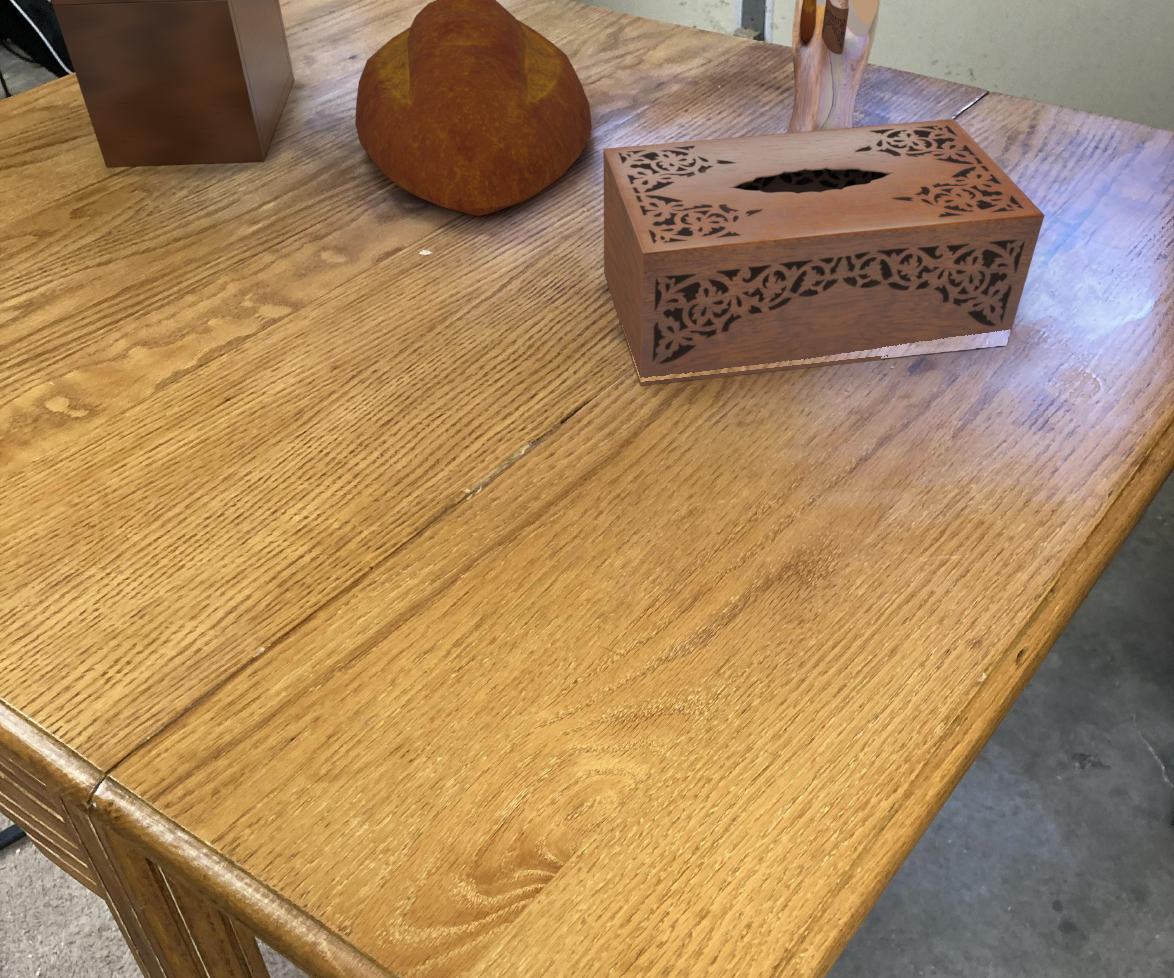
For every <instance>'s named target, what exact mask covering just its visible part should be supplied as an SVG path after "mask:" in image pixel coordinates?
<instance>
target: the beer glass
mask: <svg viewBox="0 0 1174 978" xmlns="http://www.w3.org/2000/svg"><path fill="white" fill-rule="evenodd" d="M880 7H881V0H795V2H794V10H793V17H792V19H793V20H792V32H791V39H792V40H791V42H792V43H791V44H792V45H791V47H792V49H791V51H792V65H793V79H794V80H793V81H794V96H793V97H794V99H793V105H792V106H793V107H792V112H791V115H790V118H789V122H788V125H787V128H786V129H787V130H786V132H785V133H794V132H806V131H817V130H829V129H841V128H853V127H855V126H854V125H855V124H854V122H855V121H854V115H855V105H856V102H857V101H856V100H857V95H858V92H859V89H860V87H861V83H862V79H863V76H864V74H865V71H866V69H867V65H868V62H869V58H870V56H871V53H872V49H873V45H874V42H875V39H876V32H877V28H878V22H879V15H880Z"/></svg>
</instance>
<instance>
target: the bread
mask: <svg viewBox="0 0 1174 978" xmlns="http://www.w3.org/2000/svg"><path fill="white" fill-rule="evenodd" d="M356 93H357V95H356V102H355V120H354V121H355V122H354V123H355V124H354V125H355V129H356V133H357V137H358V140H359V143H360V145H361V146H362V149H364V151H365V152H366V154H367V156H368V157H369V159H370V160H371V162H373V164H375V165H376V166H377V168H378V169H379V170H380V171H381V172H382V173H383V174H384V176H386V177H387V178H388V179H390V181H392V182H393V183H394V184H395V185H396V186H398V187H399V188H401V189H403V190H404V191H407V192H408V193H410V194H412V195H414V196H416V197H417V198H420V199H422V200H425V201H427V202H429V203H432V204H434V205H437V206H440V207H442V208H444V209H445V208H446V209H449V210H453V211H457V212H460V213H464V214H469V215H472V216H475V217H480V216H485V215H490V214H493V213H495V212H498V211H501V210H504V209H507V208H510V207H512V206H515V205H518V204H521V203H523V202H525V201H527V200H528V199H530V198H532V197H534V196H535V195H537V194H538V193H540V192H542V190H543V191H544V189H546V188H547V187H548V186H550V185H552V184H553V183H554V182H556V181H557V180H558V179H560V178H562V176H563V175H564V174H565V173H566V172H567V171H568V169H570V167H571V166H572V165H573V164H574V163H575V162H576V160H577V159H578V158H579V157H580V156H581V153H583V150H584V148H585V146H587V145H586V144H587V143H588V141H589V140H590V136H591V132H592V114H591V108H590V107H591V106H590V102H589V100H588V97H587V95H586V92H585V89H584V87H583V84H582V82H581V80H580V78H579V76H578V74H577V72H576V70H575V68H574V66H573V64H572V62H571V60H570V59H569V57H568V55H567V54H566V53H565V52H564V51H563V50H562V49H560V48H559V47H558V46H557V45H556V44H555V43H553V42H552V41H550V39H548V38H546V37H545V36H544V35H542V34H541V33H539V31H537V30H535V29H533V28H532V27H530V26H528V25H527V24H526V23H524V22H523V21H520V20H519V19H517V18H516V16H514V15H513V13H511V12H510V11H508V10H507V9H506V8H505V7H504V6H503V5H502V4H501V3H500V2H499V1H497V0H433V1H430V2H428V3H427V4H426V5H425V6H424V7H423V8H421V10H420V11H419V12H418V13H417V14H416V15H415V17H414V19H413V21H412V23H411V24H410V26H409V27H408V28H406V29H404V30H403V31H401V32H399V33H398V34H396V35H395V36H393V37H392V38H391V39H389V40H388V41H387V42H386V43H385V44H383V45H381V47H380V48H378V50H376V51H375V53H373V54H372V55H371V56H369V58H368V59H366V62H365V64H364V67H363V70H362V72H361V75H360V77H359V80H358V85H357V92H356Z"/></svg>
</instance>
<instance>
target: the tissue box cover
mask: <svg viewBox="0 0 1174 978" xmlns="http://www.w3.org/2000/svg"><path fill="white" fill-rule="evenodd" d="M602 152H603V153H602V154H603V155H602V156H603V160H602V161H603V274H604V277H605V280H606V283H607V286H608V289H609V292H610V296H611V299H612V302H613V305H614V308H615V310H616V314H617V317H618V321H619V323H620V327H621V330H622V333H623V337H624V339H625V342H626V345H627V348H628V352H629V354H630V355H629V356H630V358H631V361H632V364H633V367H634V370H635V374H636V377H637V380H638V383H639V386H650V385H660V384H668V383H679V382H686V381H687V382H688V381H697V380H705V379H713V378H714V379H715V378H723V377H724V378H725V377H733V376H743V375H751V374H752V375H753V374H760V373H761V374H762V373H769V372H770V373H771V372H779V371H788V370H797V369H807V368H816V367H824V366H825V367H826V366H835V365H843V364H844V365H845V364H853V363H861V362H862V363H863V362H872V361H873V362H874V361H881V360H880V359H881V357H882V356H875V357H866V358H857V359H847V360H838V361H829V362H820V363H811V364H801V365H792V366H783V367H774V368H765V369H756V370H746V371H737V372H728V373H719V374H710V375H700V376H691V377H682V378H673V379H664V380H655V381H645V382H640V379H639V376H638V373H637V370H636V367H635V364H634V361H633V358H632V355H633V357H634V360H635V363H636V366H637V369H638V372H639V375H640V378H642V377H644V378H648V377H652V376H656V377H657V376H666V375H670V374H682V373H684V374H687V373H690V372H692V373H695V372H702V371H710V370H717V369H724V368H731V367H742V366H749V365H759V364H766V363H768V364H770V363H776V362H782V361H785V362H786V361H788V360H789V361H792V360H801V359H804V360H805V359H807V358H808V359H811V358H816V357H823V356H827V355H828V356H830V355H836V354H841V353H850V352H855V351H864V350H870V349H871V350H872V349H877V348H882V347H886V346H887V347H889V346H894V345H895V346H897V345H899V344H900V345H902V344H907V343H915V342H919V341H921V342H922V341H932V340H934V339H935V340H937V339H941V338H942V339H944V338H948V337H956V336H965V335H967V336H968V335H972V334H973V335H975V334H982V333H989V332H995V331H996V332H997V331H1002V330H1004V331H1005V330H1009V329H1010V330H1011V329H1012V330H1013V327H1014V323H1015V319H1016V316H1017V313H1018V309H1019V305H1020V302H1021V298H1022V295H1023V291H1024V288H1025V285H1026V281H1027V278H1028V275H1029V272H1030V268H1031V263H1032V261H1033V257H1034V254H1035V251H1036V246H1037V243H1038V239H1039V236H1040V232H1041V229H1042V226H1043V222H1044V219H1045V213H1043V211H1042V210H1041V209H1039V207H1038V206H1037V205H1036V204H1035V202H1033V201H1032V200H1031V199H1030V197H1028V195H1026V194H1025V193H1024V192H1023V191H1022V189H1021V188H1020V187H1019V186H1018V185H1017V183H1015V182H1014V181H1013V180H1012V179H1011V178H1010V176H1009V175H1008V174H1007V173H1006V172H1005V171H1004V170H1003V169H1002V168H1001V167H1000V166H999V165H998V164H997V163H996V162H995V161H994V159H992V157H991V156H990V155H989V154H988V153H987V152H986V151H985V150H984V149H983V148H982V147H981V146H980V145H979V144H978V142H977V141H976V140H974V138H972V136H971V135H970V134H969V133H968V132H967V131H966V130H965V129H964V128H963V127H962V126H961V125H960V124H959V123H958V121H957V120H956V119H955V118H948V119H935V120H924V121H913V122H911V121H910V122H901V123H890V124H879V125H868V126H867V125H866V126H854V127H853V128H841V129H829V130H817V131H806V132H794V133H786V132H783V133H772V134H760V135H751V136H750V135H748V136H739V137H738V136H736V137H724V138H714V139H713V138H711V139H703V140H690V141H678V142H668V143H667V142H666V143H653V144H642V145H631V146H619V147H609V148H608V147H607V148H603V151H602ZM622 325H623V327H622ZM623 328H624V330H623ZM1012 330H1011V331H1012ZM624 331H625V333H624ZM625 334H626V336H625ZM626 337H627V339H626ZM627 340H628V342H627ZM628 343H629V345H628ZM629 346H630V348H629ZM630 349H631V351H630ZM631 352H632V354H631ZM886 356H887V357H888V355H886ZM884 357H885V356H884Z"/></svg>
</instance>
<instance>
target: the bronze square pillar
mask: <svg viewBox="0 0 1174 978" xmlns="http://www.w3.org/2000/svg"><path fill="white" fill-rule="evenodd" d="M51 2H52V5H53V10H54V13H55V16H56V19H57V22H58V24H59V28H60V31H61V33H62V37H63V40H64V43H65V46H66V50H67V52H68V55H69V58H70V62H71V64H72V68H73V70H74V74H75V77H76V79H77V82H78V83H77V84H78V85H79V89H80V92H81V95H82V97H83V101H84V104H85V107H86V111H87V113H88V116H89V120H90V122H91V125H92V129H93V132H94V134H95V137H96V141H97V143H98V147H99V149H100V152H101V156H102V159H103V163H104V165H105V167H106V168H116V167H118V168H119V167H144V166H145V167H146V166H147V167H148V166H149V167H150V166H172V165H175V166H176V165H201V164H203V165H205V164H231V163H234V164H235V163H262V162H264V161H265V159H266V156H267V153H268V150H269V148H270V145H271V143H272V140H273V137H274V135H275V133H276V130H277V126H278V124H279V122H280V118H281V115H282V114H283V111H284V108H285V106H286V103H287V101H288V97H289V96H290V92H291V90H292V87H293V84H294V82H295V75H294V69H293V64H292V60H291V55H290V50H289V45H288V39H287V34H286V30H285V29H286V28H285V23H284V18H283V14H282V8H281V3H280V0H51Z"/></svg>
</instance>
